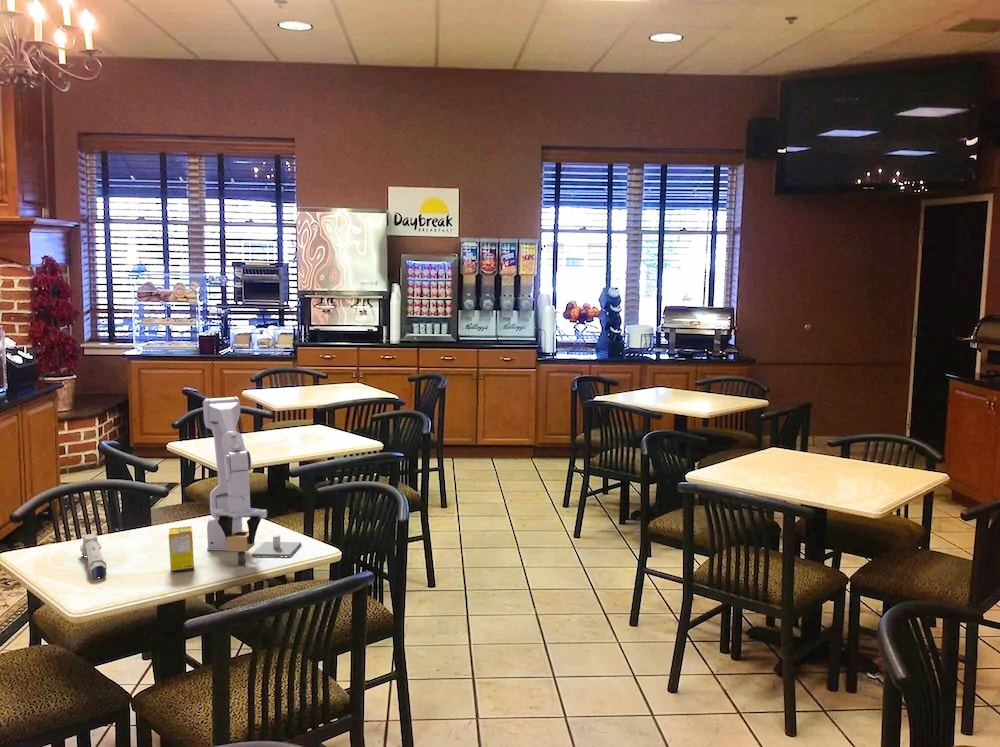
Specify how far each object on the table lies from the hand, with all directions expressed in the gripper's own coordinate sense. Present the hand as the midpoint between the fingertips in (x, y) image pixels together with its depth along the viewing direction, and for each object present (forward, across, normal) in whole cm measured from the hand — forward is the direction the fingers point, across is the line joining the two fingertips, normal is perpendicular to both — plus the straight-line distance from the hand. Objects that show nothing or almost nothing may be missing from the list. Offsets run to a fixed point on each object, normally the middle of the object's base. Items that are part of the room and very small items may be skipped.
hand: (240, 542), depth 230 cm
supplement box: (+6, -15, -4) cm, 17 cm away
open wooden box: (+1, 0, 0) cm, 1 cm away
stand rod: (+6, 0, 0) cm, 6 cm away
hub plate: (+6, +6, +12) cm, 15 cm away
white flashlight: (+7, -41, -2) cm, 41 cm away
